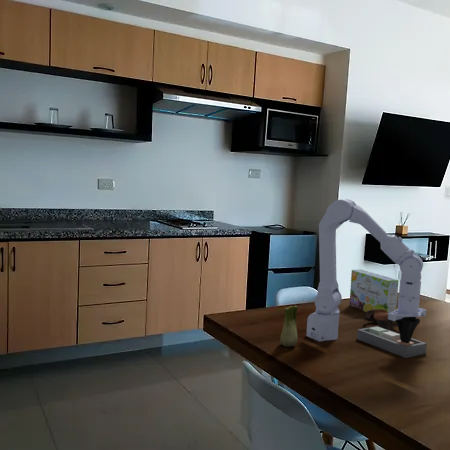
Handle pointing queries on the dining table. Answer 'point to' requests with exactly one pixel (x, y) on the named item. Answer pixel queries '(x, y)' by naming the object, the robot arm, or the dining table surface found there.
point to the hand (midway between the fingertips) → (405, 342)
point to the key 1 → (377, 331)
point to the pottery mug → (380, 319)
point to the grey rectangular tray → (392, 344)
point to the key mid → (391, 336)
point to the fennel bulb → (289, 327)
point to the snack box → (373, 291)
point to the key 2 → (404, 343)
